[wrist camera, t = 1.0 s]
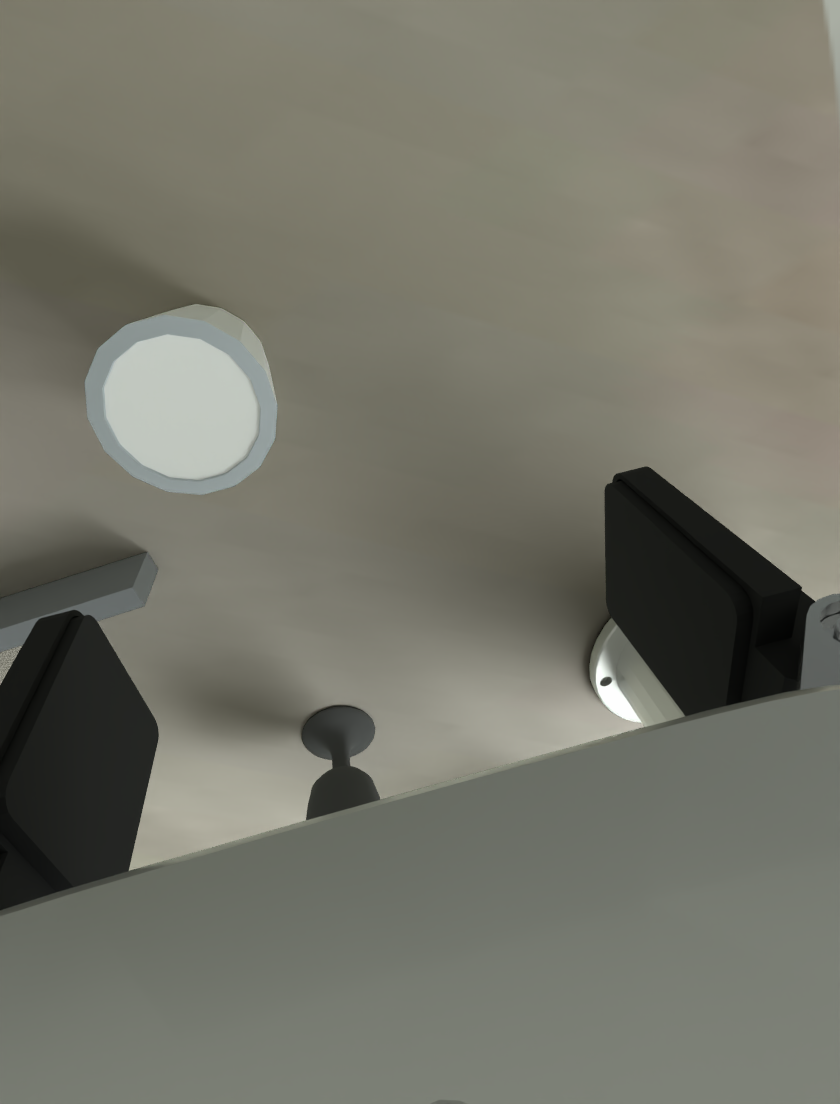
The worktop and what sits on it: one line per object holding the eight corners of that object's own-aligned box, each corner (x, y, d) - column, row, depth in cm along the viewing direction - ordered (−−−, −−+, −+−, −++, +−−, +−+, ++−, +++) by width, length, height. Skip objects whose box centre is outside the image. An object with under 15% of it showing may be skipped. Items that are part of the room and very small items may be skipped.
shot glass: (95, 331, 27) (38, 369, 21) (231, 261, 27) (212, 280, 21) (186, 460, 31) (159, 523, 25) (308, 400, 30) (310, 450, 24)
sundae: (372, 683, 40) (406, 910, 28) (396, 750, 44) (437, 979, 31) (274, 711, 40) (263, 953, 27) (307, 776, 44) (311, 1018, 31)
